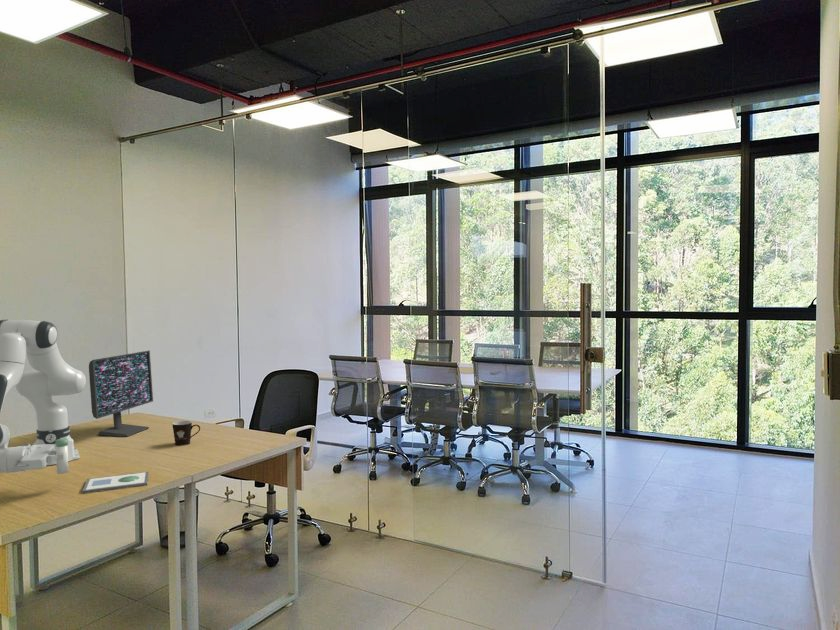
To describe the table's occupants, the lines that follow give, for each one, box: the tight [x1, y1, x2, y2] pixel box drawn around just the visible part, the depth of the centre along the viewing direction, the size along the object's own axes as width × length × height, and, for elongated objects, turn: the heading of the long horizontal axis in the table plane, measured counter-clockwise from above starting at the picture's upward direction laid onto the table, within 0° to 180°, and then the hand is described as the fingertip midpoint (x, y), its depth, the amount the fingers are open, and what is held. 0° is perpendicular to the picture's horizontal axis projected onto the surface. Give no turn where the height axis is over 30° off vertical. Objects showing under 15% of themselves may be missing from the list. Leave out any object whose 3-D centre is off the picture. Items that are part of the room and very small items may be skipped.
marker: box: [55, 438, 70, 475], centre depth 209 cm, size 4×4×12 cm
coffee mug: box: [172, 420, 201, 447], centre depth 271 cm, size 12×9×10 cm
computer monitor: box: [88, 350, 154, 438], centre depth 294 cm, size 44×16×40 cm, turn 171°
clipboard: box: [81, 471, 149, 494], centre depth 216 cm, size 15×21×1 cm
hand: (65, 454), depth 210 cm, fingers closed on marker, 4 cm apart
